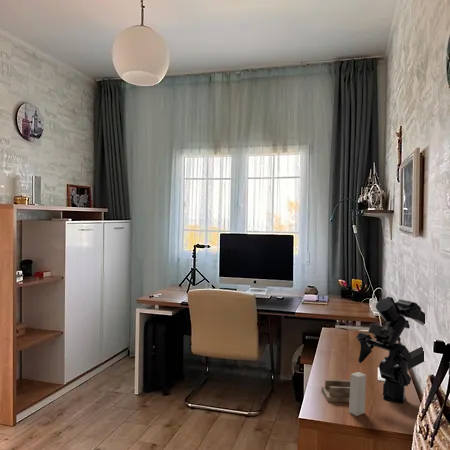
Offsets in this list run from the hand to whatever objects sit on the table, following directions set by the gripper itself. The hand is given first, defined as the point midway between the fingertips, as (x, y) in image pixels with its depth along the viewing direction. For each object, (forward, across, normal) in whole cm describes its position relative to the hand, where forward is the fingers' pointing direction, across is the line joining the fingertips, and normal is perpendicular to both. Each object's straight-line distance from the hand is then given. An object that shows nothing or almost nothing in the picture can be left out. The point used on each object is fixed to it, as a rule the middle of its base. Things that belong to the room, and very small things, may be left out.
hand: (370, 366), depth 144 cm
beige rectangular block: (+15, +2, +4) cm, 16 cm away
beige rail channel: (+12, -10, +7) cm, 17 cm away
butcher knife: (-11, -17, +31) cm, 37 cm away
